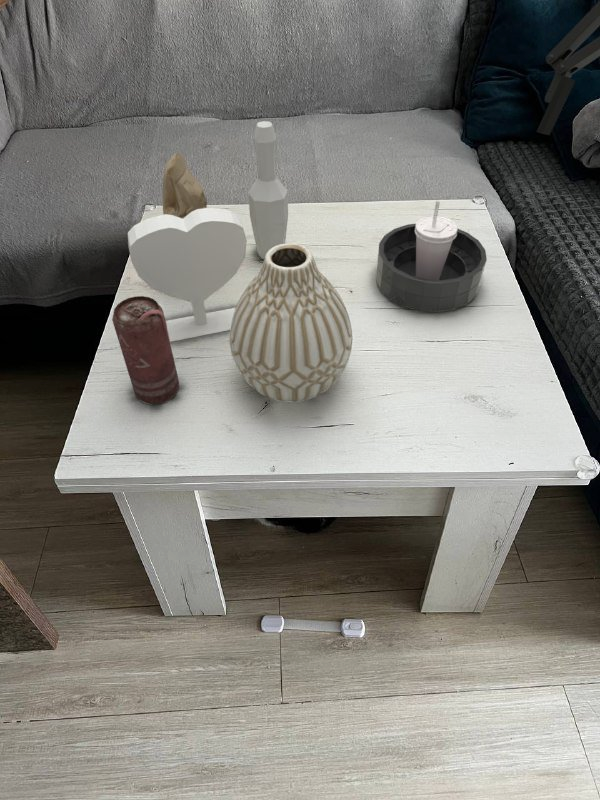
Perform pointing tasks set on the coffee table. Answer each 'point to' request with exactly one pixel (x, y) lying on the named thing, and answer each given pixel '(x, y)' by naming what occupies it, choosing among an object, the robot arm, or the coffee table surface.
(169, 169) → the tan rock
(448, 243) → the smoothie
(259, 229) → the low poly bottle
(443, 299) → the bowl
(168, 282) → the heart sculpture
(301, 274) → the vase
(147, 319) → the can
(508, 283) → the coffee table surface
